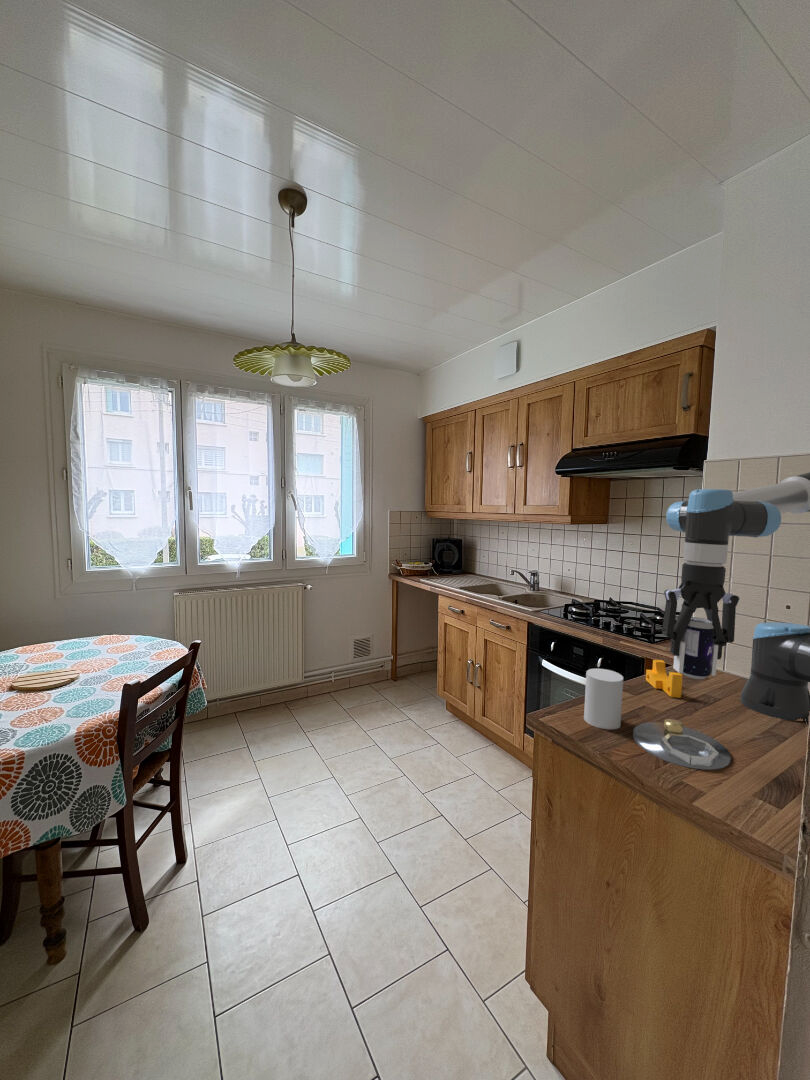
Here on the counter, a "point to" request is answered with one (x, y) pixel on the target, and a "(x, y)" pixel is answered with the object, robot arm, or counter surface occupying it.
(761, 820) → the counter surface
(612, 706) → the white cylinder
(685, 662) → the beverage can
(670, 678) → the pipe clamp
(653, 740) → the carrier
